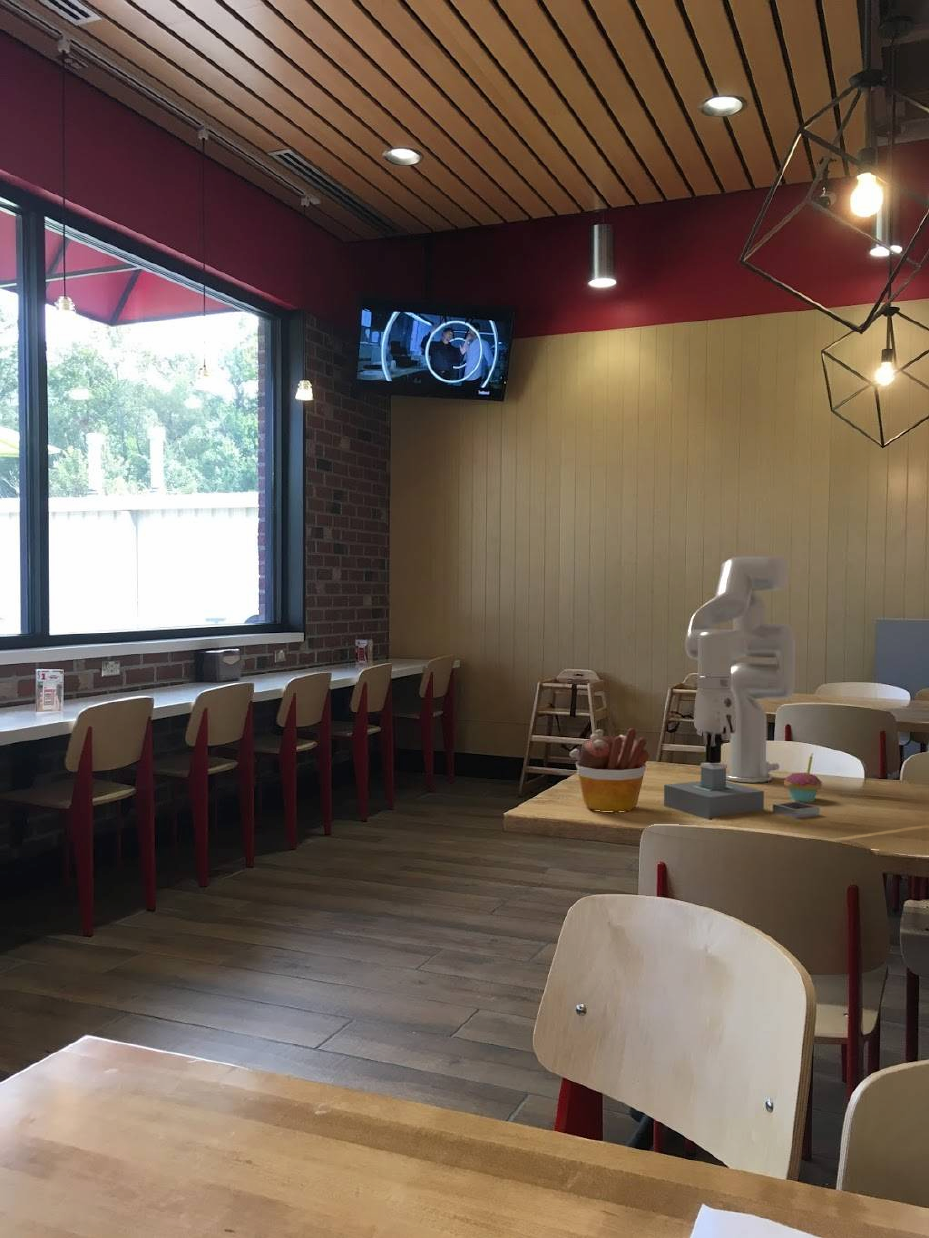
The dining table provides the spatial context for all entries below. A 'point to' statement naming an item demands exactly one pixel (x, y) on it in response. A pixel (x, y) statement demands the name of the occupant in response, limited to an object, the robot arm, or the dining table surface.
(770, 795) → the dining table surface
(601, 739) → the bucket of meat
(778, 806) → the box
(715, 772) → the plug
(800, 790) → the cupcake
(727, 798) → the port block
